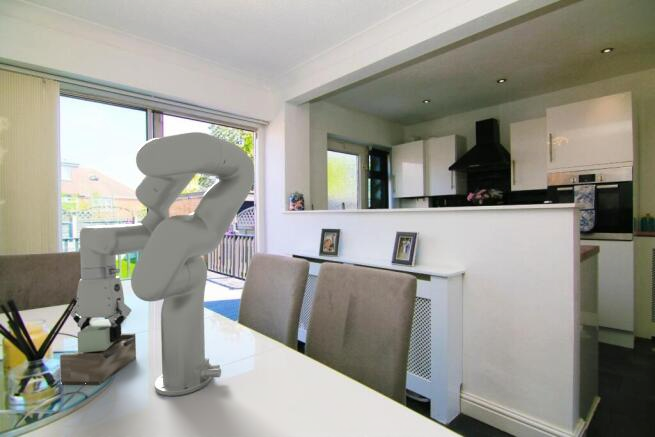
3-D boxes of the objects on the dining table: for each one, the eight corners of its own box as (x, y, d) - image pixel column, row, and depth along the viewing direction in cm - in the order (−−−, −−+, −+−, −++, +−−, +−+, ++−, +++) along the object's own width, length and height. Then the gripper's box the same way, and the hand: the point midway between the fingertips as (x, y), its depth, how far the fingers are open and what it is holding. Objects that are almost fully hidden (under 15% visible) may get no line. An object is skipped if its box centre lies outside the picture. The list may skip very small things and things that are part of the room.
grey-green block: (105, 350, 80) (105, 329, 80) (78, 353, 79) (77, 332, 79) (121, 335, 90) (120, 317, 90) (97, 337, 88) (96, 319, 88)
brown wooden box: (103, 358, 92) (102, 333, 92) (139, 358, 91) (139, 333, 91) (60, 384, 78) (60, 355, 78) (103, 384, 77) (102, 355, 77)
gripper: (140, 270, 87) (142, 334, 88) (78, 270, 88) (80, 335, 88) (121, 275, 80) (123, 346, 80) (54, 276, 81) (56, 346, 81)
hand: (101, 340), depth 84 cm, fingers closed on grey-green block, 7 cm apart
